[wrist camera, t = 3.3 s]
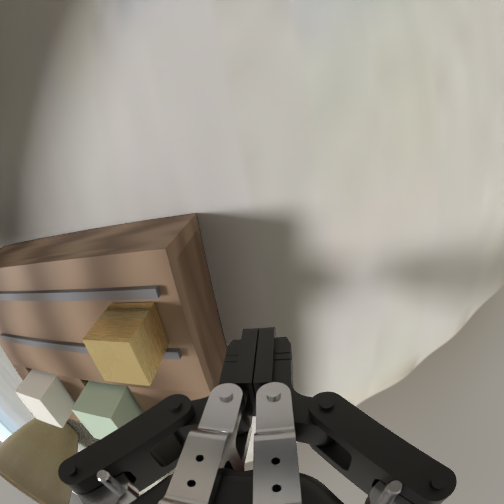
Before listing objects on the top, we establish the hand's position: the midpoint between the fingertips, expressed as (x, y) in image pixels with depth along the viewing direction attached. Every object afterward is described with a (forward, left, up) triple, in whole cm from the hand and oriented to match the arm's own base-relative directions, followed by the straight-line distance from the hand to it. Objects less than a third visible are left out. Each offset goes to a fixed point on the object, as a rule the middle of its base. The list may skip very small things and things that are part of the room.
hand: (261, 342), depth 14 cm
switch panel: (+15, +4, -8) cm, 18 cm away
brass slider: (+7, 0, -2) cm, 8 cm away
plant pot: (+38, +27, -8) cm, 48 cm away
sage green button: (+13, +8, -4) cm, 16 cm away
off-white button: (+21, +8, -4) cm, 23 cm away
